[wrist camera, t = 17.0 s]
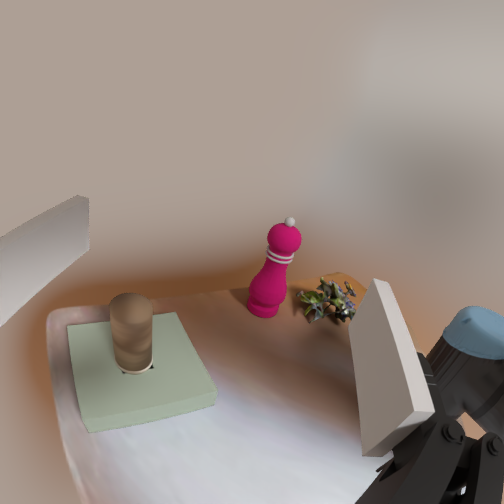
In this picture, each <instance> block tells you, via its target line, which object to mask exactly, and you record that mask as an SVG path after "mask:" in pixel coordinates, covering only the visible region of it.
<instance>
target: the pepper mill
mask: <svg viewBox="0 0 504 504" xmlns="http://www.w3.org/2000/svg"><path fill="white" fill-rule="evenodd" d="M294 224H295V220H294V219H293V218H292V217H287V218H286V219H285V223H279V224H276V225H274V226H273V227H272V228H271V229H270V231H269V233H268V236H267V240H268V243H269V245H268V246H267V250H266V255H267V258H266V262H265V264H264V266H263V268H262V269H261V271H260V272H259V273H258V274H257V275H256V276H255V277H254V279H253V280H252V282H251V284H250V287H249V292H250V296H249V299H248V303H247V307H248V309H249V310H250V312H252V313H253V314H254V315H256V316H259V317H262V318H270V317H273V316H274V315H276V313H277V311H278V308H279V304H280V303H282V302H283V301H284V299H285V296H286V291H287V285H286V269H287V266H288V264H289V263H290V262H291V261H292V258H293V256H294V253H293V252H295V251H296V250H298V248H299V247H300V245H301V234H300V232H299V231H298V229H297V228H295V227H294Z"/></svg>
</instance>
